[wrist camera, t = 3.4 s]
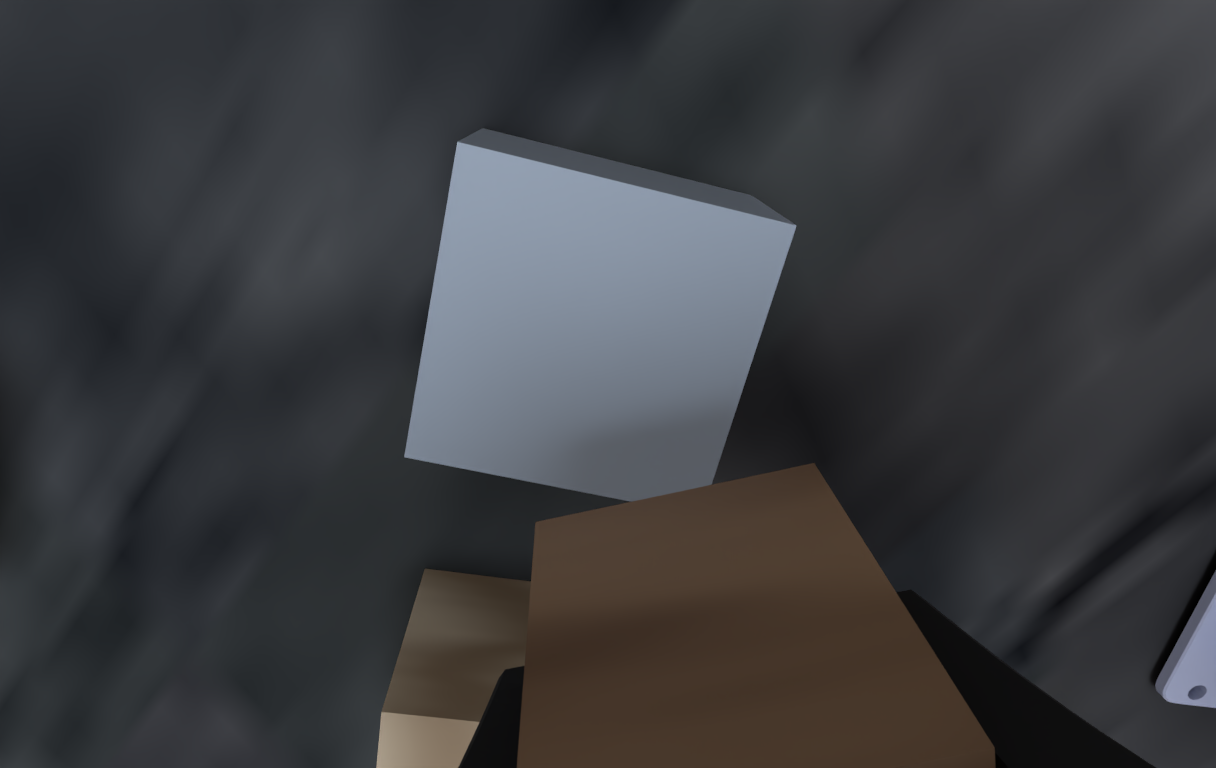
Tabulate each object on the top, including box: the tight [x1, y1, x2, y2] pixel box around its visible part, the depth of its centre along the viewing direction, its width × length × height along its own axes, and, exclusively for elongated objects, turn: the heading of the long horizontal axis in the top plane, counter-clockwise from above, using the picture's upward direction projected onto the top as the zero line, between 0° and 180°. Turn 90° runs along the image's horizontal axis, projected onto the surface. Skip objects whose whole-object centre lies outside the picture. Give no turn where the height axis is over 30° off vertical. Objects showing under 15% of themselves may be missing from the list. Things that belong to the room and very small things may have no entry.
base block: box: [404, 128, 797, 502], centre depth 16 cm, size 6×6×4 cm
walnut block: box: [517, 463, 995, 768], centre depth 9 cm, size 4×4×5 cm
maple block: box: [377, 569, 531, 768], centre depth 19 cm, size 4×4×5 cm
